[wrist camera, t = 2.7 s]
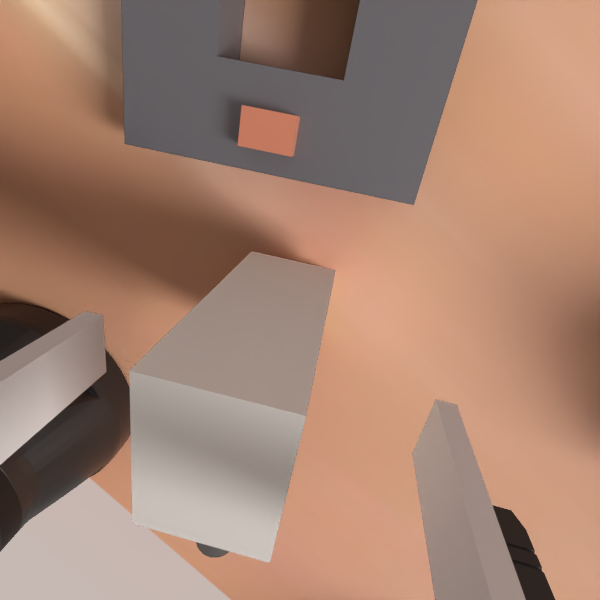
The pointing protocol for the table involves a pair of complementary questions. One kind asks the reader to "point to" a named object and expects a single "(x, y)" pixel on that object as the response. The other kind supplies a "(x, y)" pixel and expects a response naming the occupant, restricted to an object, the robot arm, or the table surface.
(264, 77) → the socket
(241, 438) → the plug
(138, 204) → the table surface
